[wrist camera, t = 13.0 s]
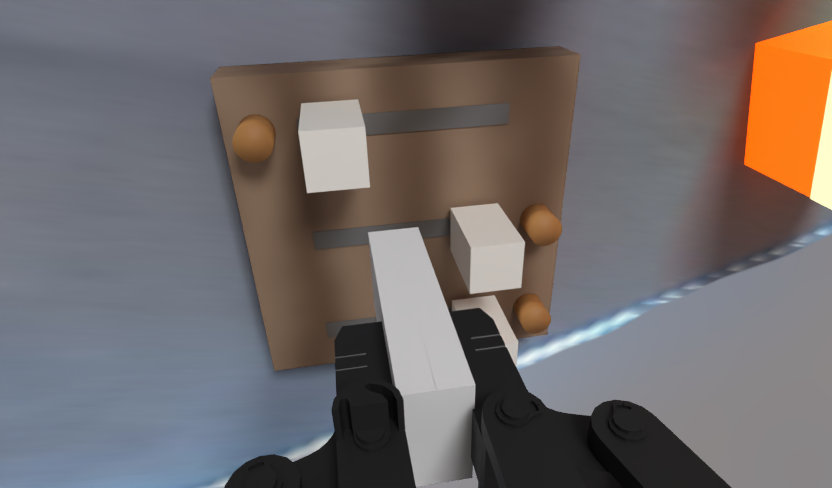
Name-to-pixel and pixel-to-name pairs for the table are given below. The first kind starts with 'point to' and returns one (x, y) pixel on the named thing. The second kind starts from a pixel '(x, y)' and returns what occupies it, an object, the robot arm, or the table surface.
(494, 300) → the switch
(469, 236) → the switch
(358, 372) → the robot arm
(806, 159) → the orange juice
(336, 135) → the switch
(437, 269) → the switch unit
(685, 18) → the table surface
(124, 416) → the table surface
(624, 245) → the table surface
